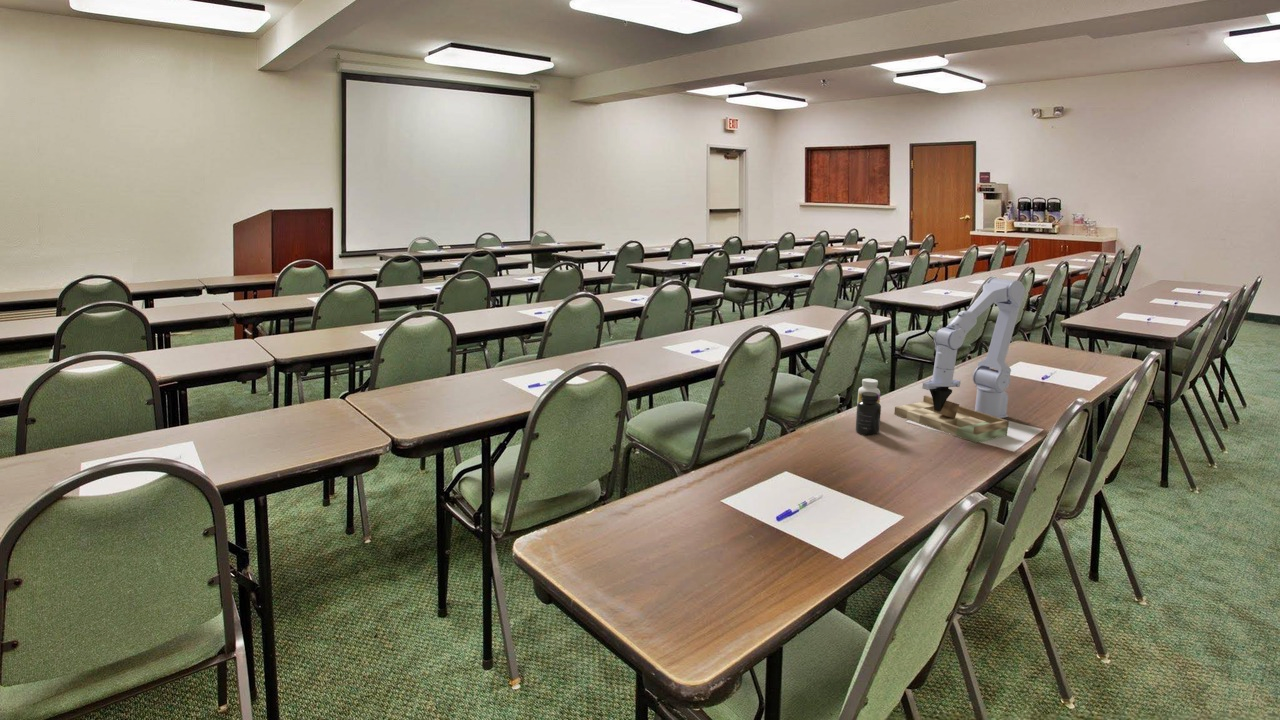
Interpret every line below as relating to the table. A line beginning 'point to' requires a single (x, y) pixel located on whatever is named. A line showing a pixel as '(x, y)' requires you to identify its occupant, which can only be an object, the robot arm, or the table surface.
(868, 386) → the supplement bottle
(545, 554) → the table surface
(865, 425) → the supplement bottle
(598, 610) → the table surface
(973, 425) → the trap board
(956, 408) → the walnut block
